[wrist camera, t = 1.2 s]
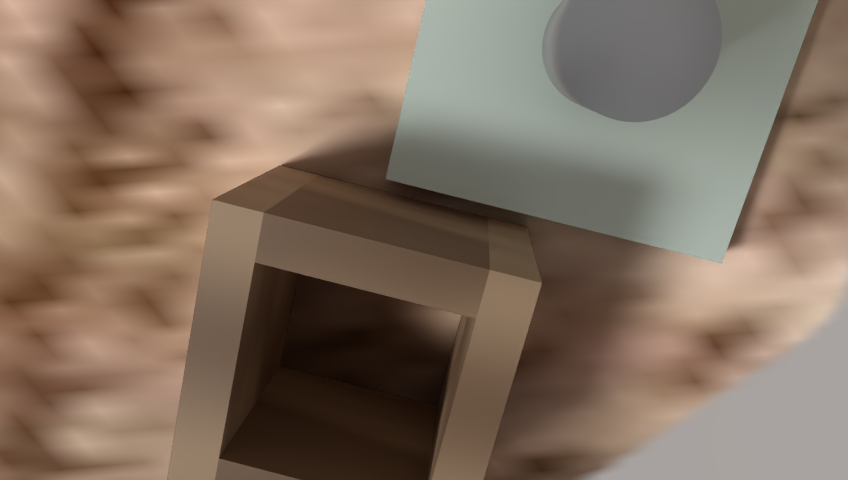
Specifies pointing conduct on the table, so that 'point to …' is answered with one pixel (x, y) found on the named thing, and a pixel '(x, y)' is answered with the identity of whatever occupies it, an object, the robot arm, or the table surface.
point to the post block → (600, 110)
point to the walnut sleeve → (328, 399)
